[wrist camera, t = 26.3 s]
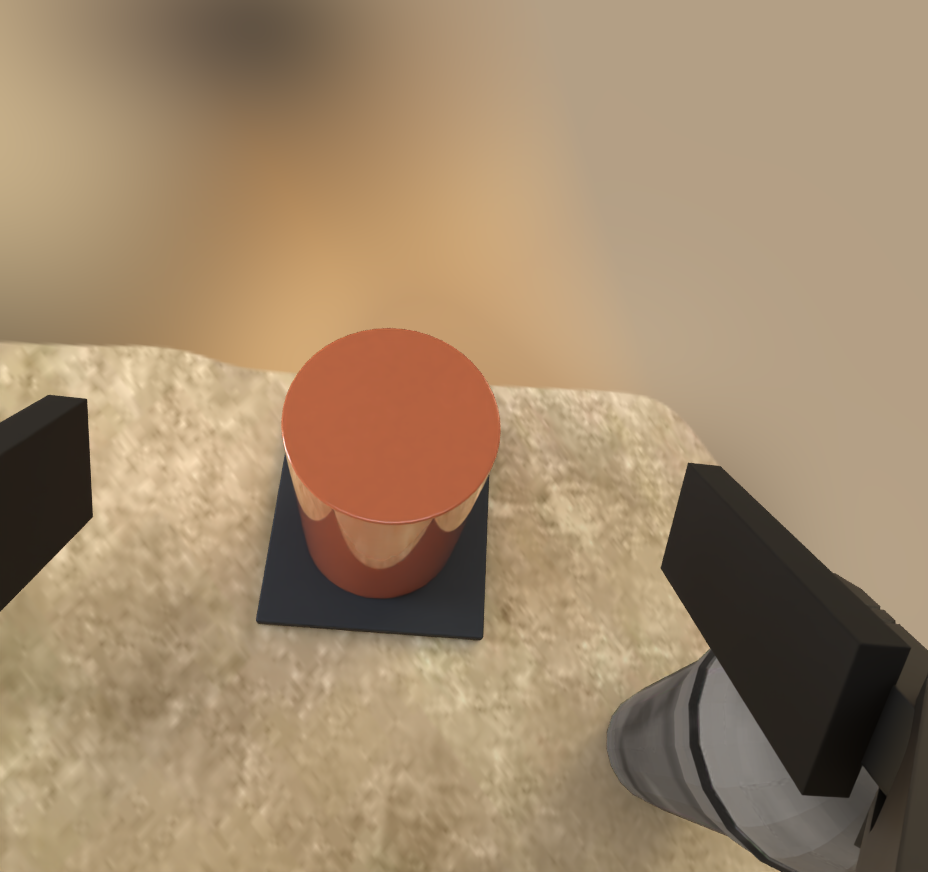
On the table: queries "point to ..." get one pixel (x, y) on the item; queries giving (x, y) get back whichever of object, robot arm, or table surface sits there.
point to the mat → (330, 607)
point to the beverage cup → (729, 773)
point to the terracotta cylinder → (387, 456)
